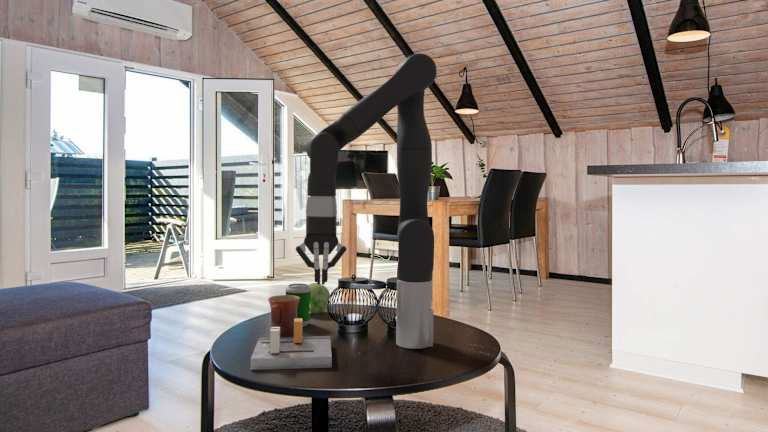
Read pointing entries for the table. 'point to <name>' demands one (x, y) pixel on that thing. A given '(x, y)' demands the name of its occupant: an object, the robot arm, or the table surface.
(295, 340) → the fader orange
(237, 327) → the table surface
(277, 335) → the fader cream
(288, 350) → the console
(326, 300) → the decorative ball
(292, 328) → the mug
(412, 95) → the robot arm
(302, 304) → the soda can
